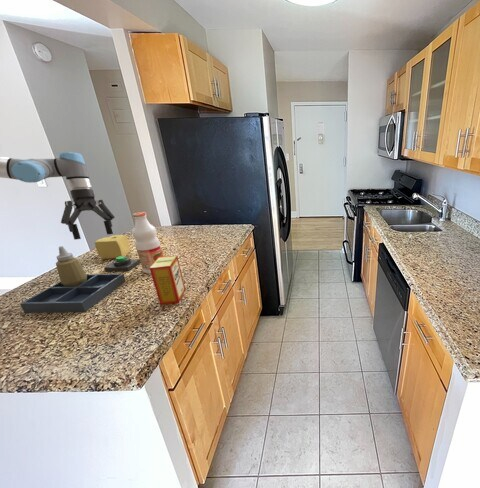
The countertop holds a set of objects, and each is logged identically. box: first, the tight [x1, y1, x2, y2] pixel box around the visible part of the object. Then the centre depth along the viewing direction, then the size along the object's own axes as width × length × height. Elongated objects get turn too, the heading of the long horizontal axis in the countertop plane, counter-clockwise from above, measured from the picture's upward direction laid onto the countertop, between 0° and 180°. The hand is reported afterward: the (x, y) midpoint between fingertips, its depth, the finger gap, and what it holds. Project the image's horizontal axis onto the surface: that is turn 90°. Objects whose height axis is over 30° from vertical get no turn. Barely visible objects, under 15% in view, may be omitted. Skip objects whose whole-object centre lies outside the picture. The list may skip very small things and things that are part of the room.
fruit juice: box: [131, 211, 165, 275], centre depth 119 cm, size 9×9×28 cm
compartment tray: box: [19, 273, 127, 314], centre depth 103 cm, size 22×22×4 cm
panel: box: [103, 256, 141, 273], centre depth 126 cm, size 11×9×4 cm
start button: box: [115, 255, 126, 262], centre depth 125 cm, size 4×4×2 cm
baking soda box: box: [150, 255, 186, 306], centre depth 100 cm, size 10×6×16 cm
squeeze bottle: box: [55, 245, 87, 287], centre depth 105 cm, size 8×8×18 cm
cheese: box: [94, 234, 132, 260], centre depth 139 cm, size 10×11×10 cm
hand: (94, 236), depth 118 cm, fingers open, 13 cm apart
